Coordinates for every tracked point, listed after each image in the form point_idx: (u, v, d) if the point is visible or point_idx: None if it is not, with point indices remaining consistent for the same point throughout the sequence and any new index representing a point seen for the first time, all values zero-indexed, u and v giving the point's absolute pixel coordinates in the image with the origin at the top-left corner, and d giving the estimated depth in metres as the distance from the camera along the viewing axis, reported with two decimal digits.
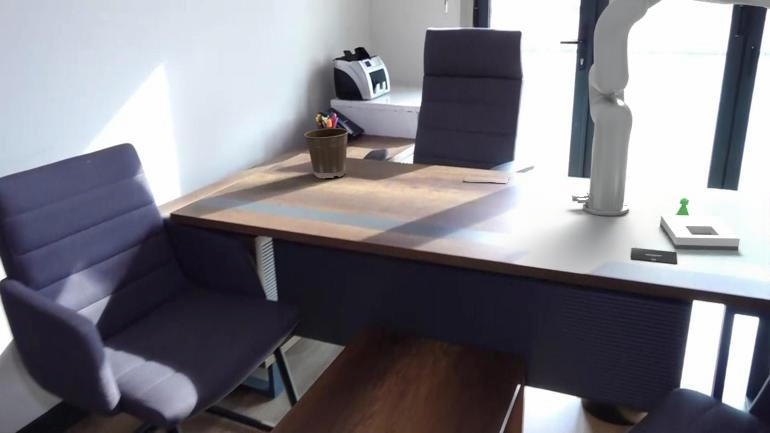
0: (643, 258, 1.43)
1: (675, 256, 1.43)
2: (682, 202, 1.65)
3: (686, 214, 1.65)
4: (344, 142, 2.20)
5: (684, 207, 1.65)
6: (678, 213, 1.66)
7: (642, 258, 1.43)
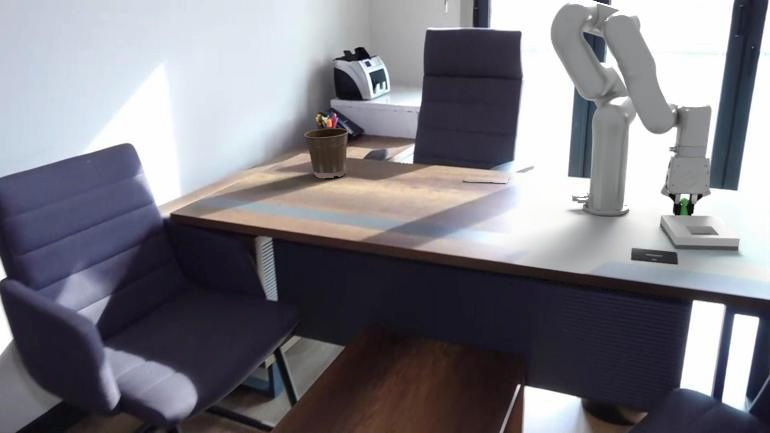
0: (644, 258, 1.43)
1: (676, 256, 1.43)
2: (682, 202, 1.65)
3: (686, 214, 1.65)
4: (344, 142, 2.20)
5: (684, 207, 1.65)
6: None
7: (643, 258, 1.43)
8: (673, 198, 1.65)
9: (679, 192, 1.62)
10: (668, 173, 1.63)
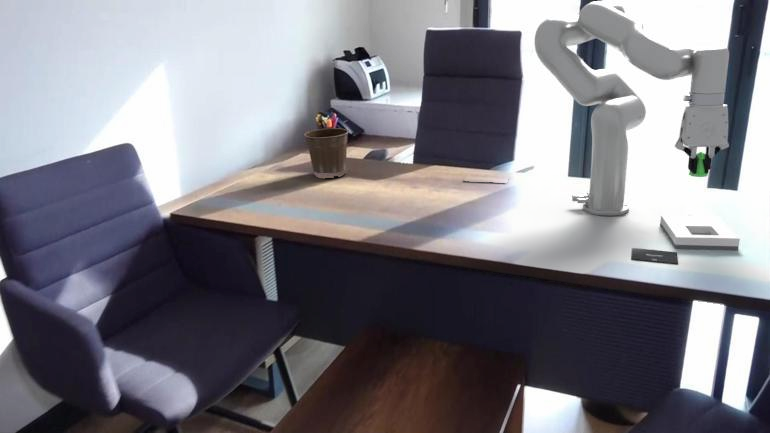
0: (644, 258, 1.43)
1: (676, 256, 1.43)
2: (698, 156, 1.53)
3: (703, 169, 1.53)
4: (344, 142, 2.20)
5: (700, 162, 1.53)
6: None
7: (643, 258, 1.43)
8: (689, 152, 1.53)
9: (695, 145, 1.50)
10: (683, 125, 1.51)
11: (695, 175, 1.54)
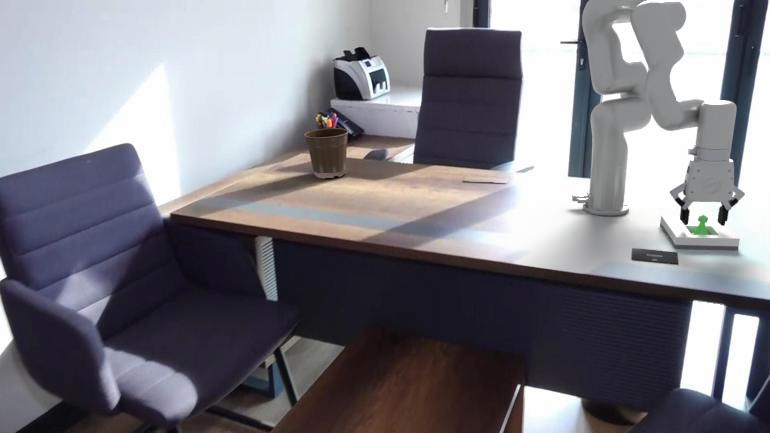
0: (644, 258, 1.43)
1: (676, 256, 1.43)
2: (700, 220, 1.49)
3: (705, 233, 1.49)
4: (344, 142, 2.20)
5: (703, 225, 1.49)
6: (696, 231, 1.50)
7: (643, 258, 1.43)
8: (683, 202, 1.48)
9: (699, 200, 1.45)
10: (687, 179, 1.46)
11: None
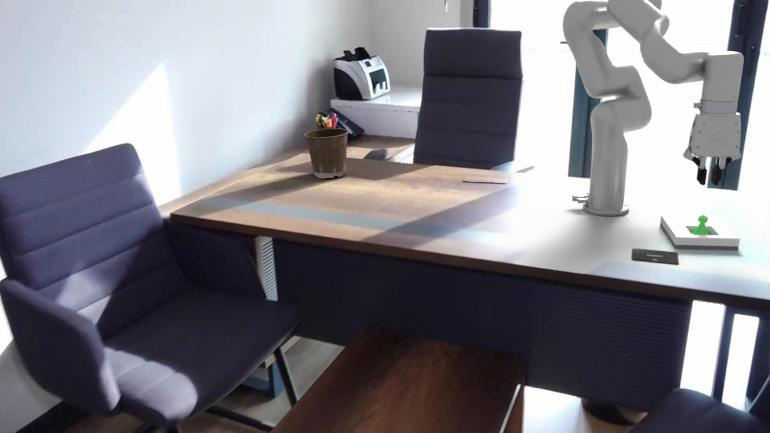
0: (644, 259, 1.43)
1: (676, 256, 1.43)
2: (700, 220, 1.49)
3: (705, 233, 1.49)
4: (344, 142, 2.20)
5: (703, 225, 1.49)
6: (696, 231, 1.50)
7: (643, 259, 1.43)
8: (697, 162, 1.44)
9: (705, 155, 1.42)
10: (692, 133, 1.43)
11: None
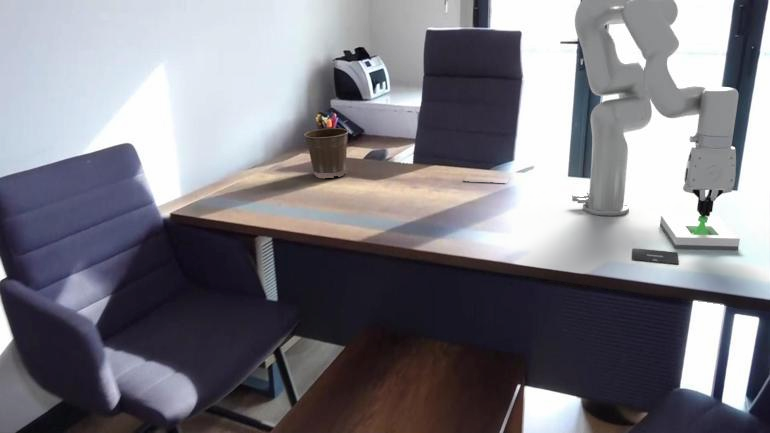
0: (644, 259, 1.43)
1: (676, 256, 1.43)
2: (700, 220, 1.49)
3: (705, 233, 1.49)
4: (344, 142, 2.20)
5: (703, 225, 1.49)
6: (696, 231, 1.50)
7: (643, 259, 1.43)
8: (697, 195, 1.47)
9: (701, 188, 1.44)
10: (688, 166, 1.45)
11: None
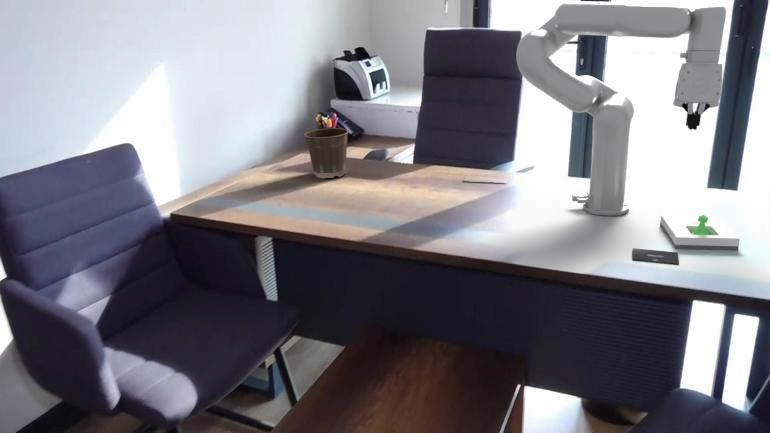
0: (645, 259, 1.42)
1: (677, 256, 1.43)
2: (700, 220, 1.49)
3: (705, 233, 1.49)
4: (344, 142, 2.20)
5: (703, 225, 1.49)
6: (696, 231, 1.50)
7: (644, 259, 1.42)
8: (686, 109, 1.59)
9: (688, 101, 1.56)
10: (678, 81, 1.57)
11: None
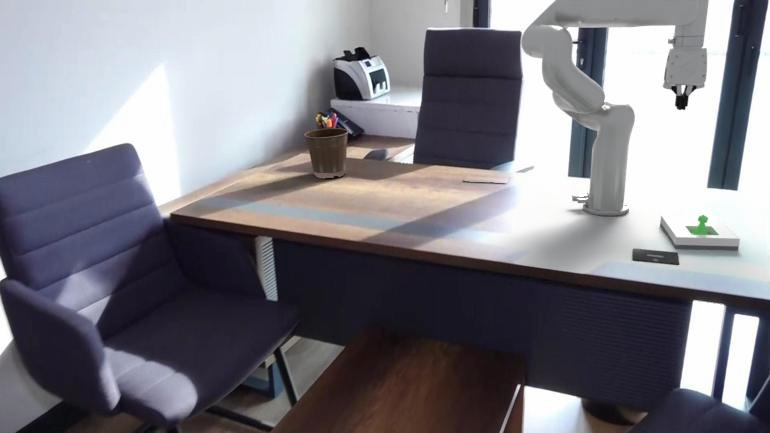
0: (645, 259, 1.42)
1: (677, 257, 1.43)
2: (700, 220, 1.49)
3: (705, 233, 1.49)
4: (344, 142, 2.20)
5: (703, 225, 1.49)
6: (696, 231, 1.50)
7: (644, 259, 1.42)
8: (675, 91, 1.72)
9: (677, 83, 1.69)
10: (667, 65, 1.70)
11: None
